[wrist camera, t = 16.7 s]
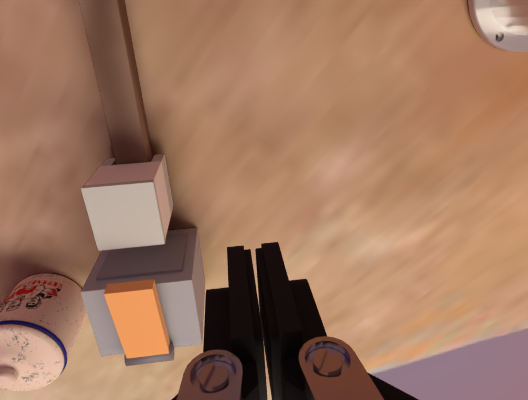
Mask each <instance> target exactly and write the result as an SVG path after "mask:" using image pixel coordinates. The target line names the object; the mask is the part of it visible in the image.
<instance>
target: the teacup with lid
mask: <svg viewBox="0 0 528 400" xmlns="http://www.w3.org/2000/svg"><path fill="white" fill-rule="evenodd" d="M81 290H82V289H81V288H80V287H79V286H78V285H77V284H76V283H75V282H73V281H72V280H70V279H68V278H66V277H63V276H60V275H56V274H47V273H45V274H36V275H32V276H29V277H27V278H25V279H23V280H22V281H20V282H19V283H18V284H17V285H16V287H15V288H14V289H13V290H12V292H11V293H10V294H9V296H8V297H7V298H6V299H5V301H4V302H3V303H2V305H1V306H0V388H2V389H6V390H11V391H30V390H35V389H39V388H42V387H44V386H46V385H48V384H50V383H51V382H53V381H54V380H55V379H56V378H57V377H58V376H59V375H60V374H61V373H62V372H63V370H64V368H65V366H66V363H67V356H68V354H69V352H70V350H71V347H72V345H73V343H74V341H75V339H76V336H77V334H78V332H79V330H80V328H81V325H82V323H83V321H84V319H85V317H86V314H87V311H86V308H85V304H84V301H83V298H82V295H81Z"/></svg>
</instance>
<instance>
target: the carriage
mask: <svg viewBox="0 0 528 400" xmlns="http://www.w3.org/2000/svg"><path fill="white" fill-rule="evenodd" d="M81 191H82V195H83V198H84V202H85V205H86V209H87V212H88V216H89V220H90V223H91V227H92V230H93V234H94V238H95V241H96V245H97V248H98V251H101V250H111V249H121V248H131V247H141V246H151V245H161V244H165V241H166V240H165V238H166V234H167V230H168V226H169V222H170V218H171V214H172V210H173V201H172V195H171V189H170V183H169V177H168V171H167V165H166V159H165V154H156V155H154V157H153V159H152V161H151V162H144V163H132V164H120V165H116V161H115V158H107V159H106V160H105V161H104V163H103V164H102V165H101V166H100V167H99V169H98V170H97V171H96V172H95V173H94V175H93V176H92V177H91V178H90V179H89V181H88V182H87V183H86V184H85V185H84V186H82V188H81Z"/></svg>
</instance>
